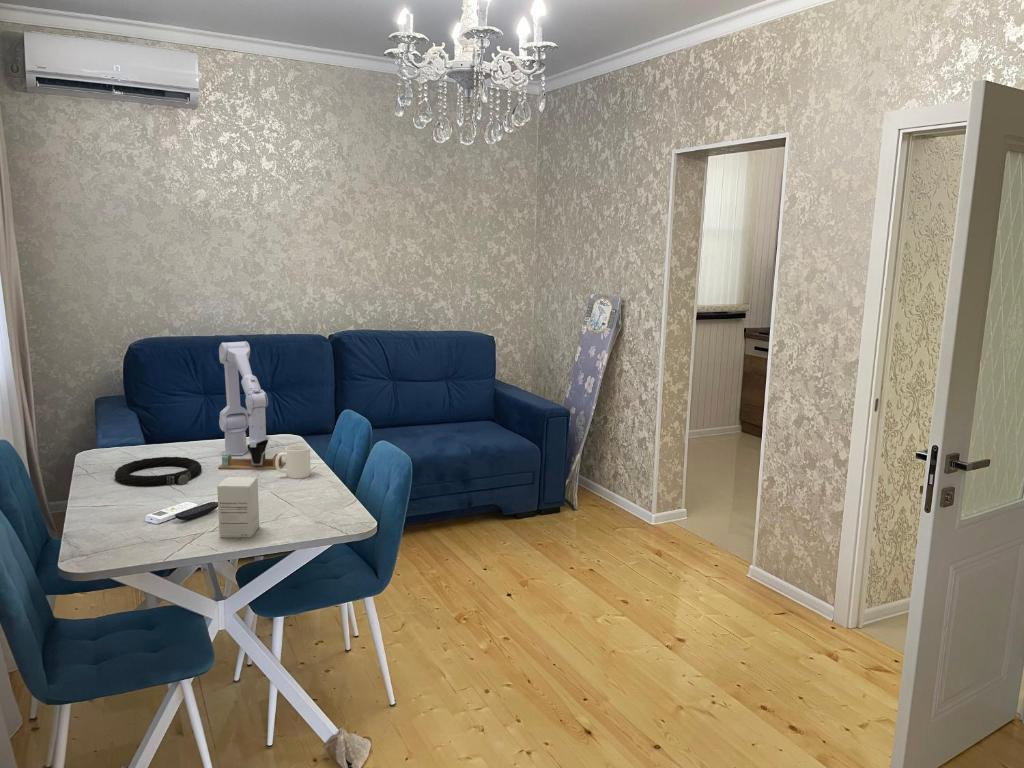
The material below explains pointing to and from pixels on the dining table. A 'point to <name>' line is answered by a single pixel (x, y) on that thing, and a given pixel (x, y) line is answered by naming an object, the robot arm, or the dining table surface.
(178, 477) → the cable lock
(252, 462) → the keeper
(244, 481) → the supplement box
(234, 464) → the rail
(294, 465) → the cup
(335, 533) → the dining table surface
